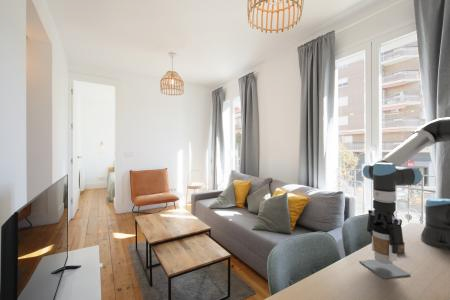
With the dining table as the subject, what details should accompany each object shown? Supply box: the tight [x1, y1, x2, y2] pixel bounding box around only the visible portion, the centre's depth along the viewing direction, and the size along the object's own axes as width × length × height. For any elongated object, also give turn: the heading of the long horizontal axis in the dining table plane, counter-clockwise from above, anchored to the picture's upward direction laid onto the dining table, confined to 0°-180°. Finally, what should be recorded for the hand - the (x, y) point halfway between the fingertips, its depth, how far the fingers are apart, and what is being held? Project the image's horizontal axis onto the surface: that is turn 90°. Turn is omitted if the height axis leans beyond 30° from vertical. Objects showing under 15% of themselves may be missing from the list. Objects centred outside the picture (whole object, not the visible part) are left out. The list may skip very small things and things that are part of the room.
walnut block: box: [398, 241, 406, 254], centre depth 106 cm, size 5×5×5 cm
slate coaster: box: [359, 259, 411, 280], centre depth 90 cm, size 12×12×1 cm
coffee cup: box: [372, 223, 395, 264], centre depth 90 cm, size 8×8×15 cm
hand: (383, 255), depth 90 cm, fingers closed on coffee cup, 8 cm apart
